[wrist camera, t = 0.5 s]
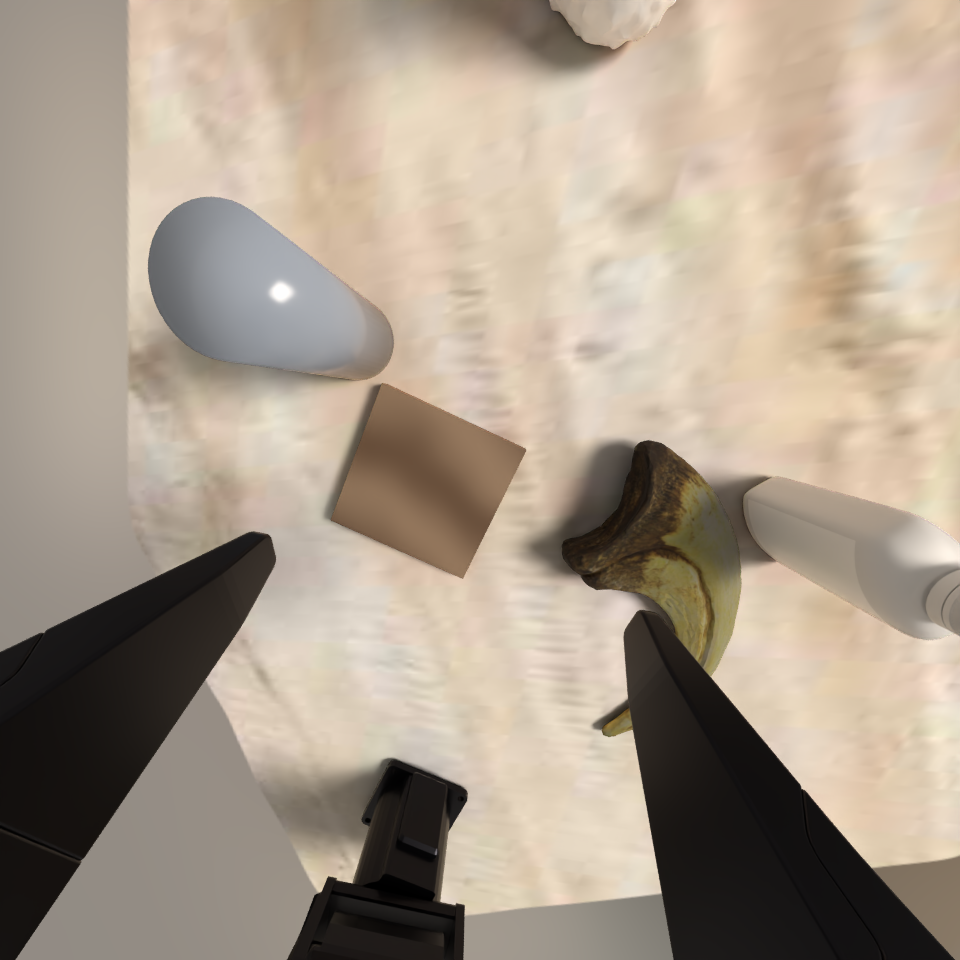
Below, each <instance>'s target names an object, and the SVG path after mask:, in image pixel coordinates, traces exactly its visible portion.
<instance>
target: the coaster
mask: <svg viewBox="0 0 960 960" xmlns="http://www.w3.org/2000/svg"><path fill="white" fill-rule="evenodd" d="M525 452H526V449H525V448H523V447H521V446H519V445H517V444H515V443H512V442H510V441H508V440H506V439H504V438H502V437H499V436H497V435H495V434H493V433H491V432H489V431H487V430H484V429H482V428H480V427H478V426H476V425H474V424H472V423H469V422H467V421H465V420H463V419H461V418H459V417H457V416H454V415H452V414H450V413H448V412H446V411H444V410H442V409H439V408H437V407H435V406H433V405H431V404H429V403H427V402H424V401H422V400H420V399H418V398H416V397H414V396H412V395H409V394H407V393H405V392H403V391H401V390H399V389H397V388H394V387H392V386H390V385H388V384H385V383H382V384H381V387H380V390H379V392H378V395H377V398H376V400H375V403H374V406H373V408H372V411H371V414H370V416H369V419H368V422H367V424H366V427H365V430H364V432H363V435H362V438H361V440H360V443H359V446H358V448H357V451H356V454H355V456H354V459H353V462H352V464H351V467H350V470H349V472H348V475H347V478H346V480H345V483H344V486H343V488H342V491H341V494H340V496H339V499H338V502H337V504H336V507H335V510H334V512H333V515H332V518H331V521H334V522H336V523H338V524H340V525H343V526H345V527H347V528H349V529H352V530H354V531H356V532H358V533H361V534H363V535H365V536H367V537H370V538H372V539H374V540H376V541H379V542H381V543H383V544H385V545H388V546H390V547H392V548H395V549H397V550H399V551H401V552H404V553H406V554H408V555H410V556H413V557H415V558H417V559H419V560H422V561H424V562H426V563H428V564H431V565H433V566H435V567H437V568H440V569H442V570H444V571H446V572H449V573H451V574H453V575H455V576H458V577H460V578H462V579H463V577H464V575H465V573H466V571H467V569H468V567H469V565H470V563H471V561H472V559H473V557H474V555H475V553H476V551H477V549H478V547H479V545H480V543H481V541H482V539H483V537H484V535H485V533H486V531H487V529H488V527H489V525H490V523H491V521H492V519H493V517H494V515H495V513H496V511H497V509H498V507H499V505H500V503H501V501H502V499H503V497H504V494H505V492H506V490H507V488H508V486H509V484H510V482H511V480H512V478H513V476H514V474H515V472H516V470H517V468H518V466H519V464H520V462H521V460H522V458H523V456H524V454H525Z"/></svg>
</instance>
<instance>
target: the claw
mask: <svg viewBox="0 0 960 960" xmlns="http://www.w3.org/2000/svg"><path fill="white" fill-rule="evenodd" d="M562 555H563V559H564V560H565V561H566V563H567V564H568V565H569V566H570V567H571V568H572V569H573V570H574V571H575V572H577V573H578V574H580V575H581V578H582V579H583V581H584V582H585V583H586V584H587V585H588V586H590V587H592V588H594V589H596V590H604V589H613V590H620V591H627V592H636V593H640V594H644V595H646V596H648V597H649V598H651V599H653V600H654V601H655V602H656V603H657V604H659V605H660V606H661V608H662V609H663V610H664V611H665V612H666V613H667V614H668V615H669V617H670V619H671V621H672V623H673V625H674V627H675V635H676V636H677V637H678V638H679V640H680V641H681V642H682V643H683V644H684V646H685V647H686V648H687V649H688V650H689V652H690V653H691V654H692V655H693V656H694V658H695V659H696V660H697V661H698V662H699V664H700V665H701V666H702V667H703V668H704V670H705V671H706V672H707V673H708V674H709V676H711V675H712V674H713V673H714V671H715V670H716V668H717V666H718V664H719V662H720V660H721V658H722V656H723V653H724V651H725V649H726V647H727V645H728V643H729V641H730V638H731V636H732V632H733V628H734V624H735V618H736V614H737V609H738V604H739V598H740V592H741V565H740V556H739V549H738V544H737V541H736V538H735V535H734V532H733V528H732V525H731V523H730V521H729V518H728V516H727V514H726V512H725V510H724V508H723V506H722V504H721V503H720V501H719V499H718V497H717V495H716V494H715V492H714V491H713V489H712V488H711V487H710V486H709V485H708V484H707V483H706V481H705V480H704V479H703V478H702V477H701V476H700V475H699V473H698V472H697V471H696V470H695V469H694V468H693V467H692V466H690V465H689V464H688V463H687V462H686V461H685V460H684V459H682V458H681V457H679V456H678V455H677V454H676V453H674V452H673V451H672V450H671V449H670V448H668V447H666V446H665V445H663V444H662V443H659V442H654V441H649V440H648V441H643V442H640V443H638V445H637V446H636V447H635V450H634V455H633V459H632V466H631V470H630V472H629V474H628V476H627V478H626V482H625V486H624V490H623V495H622V499H621V502H620V504H619V507H618V509H617V510H616V511H615V512H614V513H613V514H612V515H611V516H610V517H609V518H608V519H607V520H606V521H605V522H604V523H603V525H602V526H600V527H598V528H596V529H595V530H593V531H592V532H590V533H587V534H585V535H583V536H581V537H576V538H571V539H567V540H565V541H564V542H563V544H562ZM630 730H633V727H632V722H631V716H630V709H629V708H628V709H626V710H625V711H624V712H623V713H622V714H620V715H619V716H618V717H617V718H615V719H614V720H612V721H611V722H609V723H608V724H606V725H605V726H603V728H602V733H603V735H605V736H608V737H611V736H616V735H618V734H621V733H623V732H626V731H630Z"/></svg>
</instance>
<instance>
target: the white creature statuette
mask: <svg viewBox="0 0 960 960" xmlns="http://www.w3.org/2000/svg"><path fill="white" fill-rule="evenodd" d="M549 2H550V6H551V9H552V11H558V12H560V13H561V14H562V15H563V16H564V18H565V19H566V20H567V22H568V24H569V25H570V26H571V27H572V28H573V31H574V33H575V34H576V35H577V36H580V37H581V38H582V39H583V40H584V41H585V42H587V43H590V44H595V45H603V46H609V47H610V48H612V49H617V48H618V47H620V46H621V45H622V44H624V43H625V42H627V41H629V40H631V41H638V40H639V39H640V38H642V37H645V36H646V35H647V34H648V33H649V32H650V30H651V29H652V28H655V27H657V26H658V25H659V23H660V21H661V19H662V16H663V14H664V13H665V11H666V10H667V9H668V8H669V7H671V6H672V5H673V4H674V3H675V2H676V0H549Z"/></svg>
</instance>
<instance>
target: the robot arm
mask: <svg viewBox="0 0 960 960" xmlns="http://www.w3.org/2000/svg"><path fill="white" fill-rule="evenodd" d="M275 562H276V555H275V551H274V547H273V543H272V539H271V537H270V536H269V535H268V534H265V533H260V532H248V533H246V534H244V535H242V536H240V537H238V538H236V539H234V540H232V541H230V542H227V543H225V544H223V545H221V546H219V547H217V548H215V549H213V550H211V551H209V552H207V553H205V554H203V555H201V556H198V557H196V558H194V559H192V560H190V561H188V562H186V563H184V564H182V565H180V566H178V567H176V568H174V569H172V570H169V571H167V572H165V573H163V574H161V575H159V576H157V577H155V578H153V579H151V580H149V581H147V582H145V583H143V584H140V585H138V586H137V587H134V588H132V589H130V590H128V591H126V592H124V593H122V594H120V595H118V596H116V597H114V598H112V599H109V600H108V601H105V602H103V603H101V604H99V605H97V606H95V607H93V608H91V609H89V610H87V611H85V612H83V613H80V614H78V615H77V616H74V617H72V618H70V619H68V620H66V621H64V622H62V623H60V624H58V625H56V626H54V627H51V628H49V629H48V630H46V631H45V633H39V634H37V635H35V636H33V637H30V638H29V639H26V640H24V641H22V642H20V643H18V644H16V645H14V646H12V647H10V648H8V649H5V650H4V651H1V652H0V960H15V959H16V958H17V957H18V955H19V954H20V952H21V951H22V949H23V948H24V946H25V944H26V943H27V942H28V940H29V939H30V937H31V936H32V934H33V933H34V932H35V930H36V929H37V927H38V926H39V924H40V923H41V921H42V920H43V918H44V917H45V915H46V914H47V912H48V911H49V909H50V908H51V907H52V905H53V904H54V902H55V900H56V899H57V898H58V896H59V895H60V893H61V892H62V890H63V889H64V887H65V886H66V884H67V883H68V882H69V880H70V878H71V877H72V876H73V874H74V873H75V871H76V870H77V868H78V867H79V865H80V863H81V860H82V859H83V858H84V857H85V856H86V854H87V853H88V851H89V850H90V848H91V847H92V846H93V844H94V842H95V841H96V840H97V838H98V837H99V835H100V834H101V832H102V831H103V829H104V828H105V827H106V825H107V824H108V822H109V821H110V819H111V818H112V816H113V815H114V813H115V812H116V810H117V809H118V807H119V806H120V804H121V803H122V801H123V800H124V799H125V797H126V796H127V794H128V793H129V791H130V790H131V788H132V787H133V785H134V784H135V782H136V781H137V779H138V778H139V776H140V775H141V773H142V772H143V771H144V769H145V767H146V766H147V765H148V763H149V762H150V760H151V759H152V757H153V756H154V754H155V753H156V752H157V750H158V749H159V747H160V746H161V744H162V743H163V741H164V740H165V738H166V737H167V735H168V734H169V732H170V731H171V729H172V728H173V726H174V725H175V724H176V722H177V720H178V719H179V717H180V716H181V715H182V713H183V712H184V710H185V709H186V707H187V706H188V704H189V703H190V701H191V700H192V699H193V697H194V696H195V694H196V693H197V691H198V690H199V688H200V687H201V685H202V683H203V682H204V681H205V679H206V678H207V676H208V675H209V674H210V672H211V671H212V669H213V668H214V666H215V665H216V663H217V662H218V660H219V659H220V657H221V656H222V654H223V653H224V651H225V650H226V649H227V647H228V646H229V644H230V643H231V641H232V640H233V638H234V637H235V635H236V634H237V632H238V631H239V629H240V628H241V626H242V624H243V623H244V621H245V619H246V618H247V616H248V614H249V612H250V610H251V608H252V607H253V605H254V603H255V601H256V599H257V597H258V596H259V594H260V592H261V590H262V588H263V586H264V584H265V583H266V581H267V579H268V577H269V575H270V573H271V572H272V570H273V568H274V565H275ZM624 650H625V664H626V678H627V692H628V702H629V709H630V716H631V722H632V727H633V733H634V738H635V744H636V750H637V755H638V761H639V767H640V772H641V778H642V784H643V789H644V795H645V801H646V806H647V812H648V818H649V823H650V829H651V835H652V840H653V846H654V852H655V857H656V863H657V868H658V874H659V880H660V885H661V891H662V896H663V902H664V907H665V913H666V919H667V925H668V931H669V936H670V942H671V948H672V953H673V958H674V960H955V959H954V958H953V957H952V956H951V955H950V954H949V953H948V952H947V951H946V949H945V948H944V947H943V946H942V945H941V944H940V943H939V942H938V941H937V940H936V939H935V937H934V936H933V935H932V934H931V933H930V932H929V931H928V930H927V929H926V928H925V927H924V925H923V924H922V923H921V922H920V921H919V920H918V919H917V918H916V917H915V916H914V915H913V913H912V912H911V911H910V910H909V909H908V908H907V907H906V906H905V905H904V904H903V903H902V902H901V900H900V899H899V898H898V897H897V896H896V895H895V894H894V892H893V891H892V890H891V889H890V888H889V887H888V886H887V885H886V884H885V882H884V881H883V880H882V879H881V878H880V877H879V876H878V875H877V873H876V872H875V871H874V870H873V869H872V868H871V867H870V866H869V865H868V863H867V862H866V861H865V860H864V859H863V858H862V857H861V856H860V855H859V853H858V852H857V851H856V850H855V849H854V847H853V846H852V845H851V844H850V843H849V842H848V840H847V839H846V838H845V837H844V836H843V835H842V833H841V832H840V831H839V830H838V829H837V828H836V826H835V825H834V824H833V823H832V822H831V821H830V819H829V818H828V817H827V816H826V815H825V814H824V812H823V811H822V810H821V809H820V808H819V806H818V805H817V804H816V803H815V802H814V800H813V799H812V798H811V797H810V796H809V794H808V793H807V792H806V791H805V790H803V789H801V785H800V784H799V783H798V781H797V780H796V779H795V778H794V777H793V775H792V774H791V773H790V772H789V771H788V769H787V768H786V767H785V766H784V765H783V763H782V762H781V761H780V760H779V758H778V757H777V756H776V755H775V754H774V752H773V751H772V750H771V749H770V748H769V746H768V745H767V744H766V743H765V742H764V740H763V739H762V738H761V737H760V736H759V734H758V733H757V732H756V731H755V730H754V728H753V727H752V726H751V725H750V724H749V722H748V721H747V720H746V719H745V718H744V716H743V715H742V714H741V713H740V712H739V710H738V709H737V708H736V707H735V706H734V704H733V703H732V702H731V701H730V700H729V698H728V697H727V696H726V695H725V694H724V692H723V691H722V690H721V689H720V688H719V686H718V685H717V684H716V683H715V682H714V680H713V679H712V678H711V677H710V676H709V674H708V673H707V672H706V671H705V670H704V668H703V667H702V666H701V665H700V664H699V662H698V661H697V660H696V659H695V658H694V656H693V655H692V654H691V653H690V652H689V650H688V649H687V648H686V647H685V646H684V644H683V643H682V642H681V641H680V640H679V638H678V637H677V636H676V635H675V634H674V632H673V631H672V630H671V629H670V628H669V626H668V625H667V624H666V623H665V622H664V620H663V619H662V618H661V617H660V616H659V615H658V614H656V613H654V612H650V611H645V610H639V611H637V612H636V614H635V615H634V617H633V618H632V620H631V621H630V623H629V624H628V625H627V627H626V629H625V631H624ZM467 796H468V793H467V791H466V790H465V789H464V788H461V787H459V786H456V785H454V784H452V783H449V782H447V781H444V780H442V779H439V778H437V777H435V776H432V775H430V774H427V773H425V772H423V771H420V770H418V769H415V768H413V767H410V766H408V765H406V764H403V763H401V762H398V761H391V762H390V763H389V764H388V766H387V768H386V770H385V772H384V774H383V776H382V778H381V780H380V782H379V784H378V786H377V788H376V790H375V791H374V793H373V795H372V797H371V799H370V801H369V803H368V805H367V807H366V809H365V811H364V814H363V817H362V822H363V823H364V824H365V825H368V826H370V827H369V830H368V833H367V837H366V840H365V843H364V846H363V850H362V853H361V856H360V860H359V863H358V866H357V870H356V873H355V876H354V879H353V883H347V882H342V881H337V878H334V877H329V876H328V878H327V880H326V883H325V885H324V888H323V890H322V892H320V893H318V894H316V895H315V896H314V898H313V901H312V903H311V906H310V909H309V911H308V914H307V917H306V920H305V922H304V925H303V927H302V930H301V932H300V934H299V937H298V939H297V941H296V943H295V945H294V947H293V949H292V951H291V953H290V955H289V957H288V959H287V960H463V952H464V912H465V905H463V904H458V903H456V905H452V904H447V903H442V902H440V899H441V890H442V882H443V873H444V865H445V856H446V848H447V839H448V832H449V830H450V828H451V827H452V825H453V823H454V822H455V820H456V818H457V817H458V815H459V813H460V812H461V810H462V808H463V807H464V805H465V803H466V802H467Z"/></svg>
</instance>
